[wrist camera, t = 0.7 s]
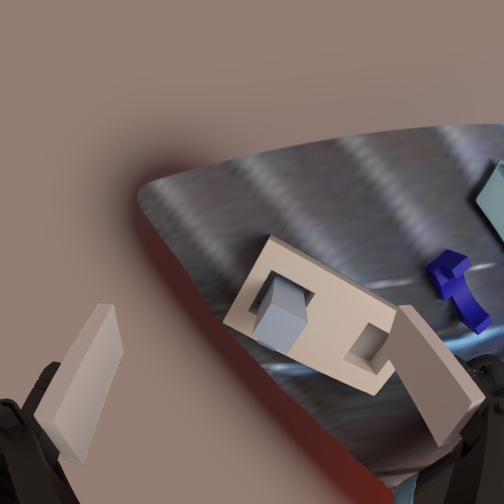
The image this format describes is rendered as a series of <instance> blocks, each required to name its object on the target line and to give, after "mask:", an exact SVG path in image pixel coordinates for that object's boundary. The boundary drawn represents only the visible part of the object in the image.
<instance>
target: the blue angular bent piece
mask: <svg viewBox="0 0 504 504" xmlns="http://www.w3.org/2000/svg"><path fill="white" fill-rule="evenodd" d="M470 267H471V263H470V261H469V258H468V256H465V255H462V254H459V253H457V252H454V251H451V250H448V249H447V250H446V251H445V252H444V253H443V254H442V255H440V256H439V257H438V258H437V259H435V260H434V261H433V262H432V263H431V264H429V265H428V266H427V267H426V269H427V271H428V273H429V275H430V277H431V279H432V281H433V283H434V285H435V287H436V289H437V291H438V293H439V295H440V297H441V299H442V300H444V301H446V300H447V299H449V298H450V297H451V300H452V302H453V304H454V307H455V309H456V311H457V314H458V316H459V319H460V321H461V322H462V323H463V324H465V325H466V326H467V327H469V328H470V329H471V330H472V331H474V332H475V333H476V334H477V335H479V334H480V333H481V332H482V331H484V330H485V329H486V328H487V327H488V326H489V325H490V324H491V323H492V320H491V317H490V315H489V314H488V313H486V312H485V311H484V310H483V309H482V308H481V306H480V305H479V304H478V303H477V301H476V300H475V298H474V297H473V295H472V294H471V292H470V290H469V288H468V286H467V284H466V281H465V278H464V274H463V273H464V272H465V271H466V270H467V269H468V268H470Z"/></svg>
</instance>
